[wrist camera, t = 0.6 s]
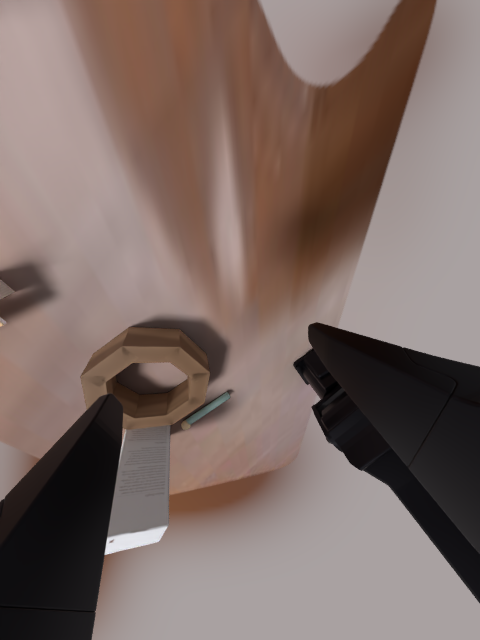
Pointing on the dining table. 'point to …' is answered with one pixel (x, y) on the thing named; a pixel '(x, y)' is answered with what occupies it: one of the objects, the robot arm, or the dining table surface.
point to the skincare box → (141, 490)
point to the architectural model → (4, 295)
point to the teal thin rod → (204, 411)
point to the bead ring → (148, 349)
